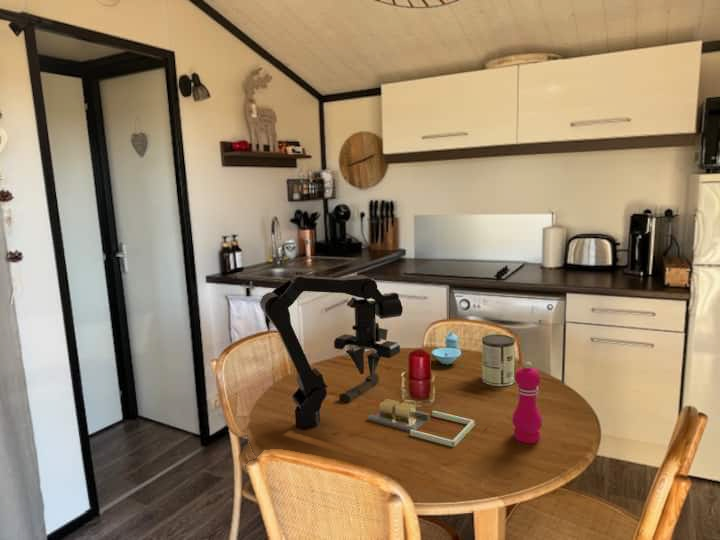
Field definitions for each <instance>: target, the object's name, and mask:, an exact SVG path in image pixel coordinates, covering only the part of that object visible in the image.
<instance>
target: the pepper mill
mask: <svg viewBox="0 0 720 540" xmlns="http://www.w3.org/2000/svg"><path fill="white" fill-rule="evenodd" d="M523 365H524V366H523V367H520V368H519V369H518V370H517V371H516V372H515V374H514V381H515V382H516V384H517V387H516V391H517V393H518V396H519V397H518V398H519V399H518V404H517V405H516V407H515V410H514V412H513V415H512V417H511V418H512V420H511V422H512V425H513V426H514V430H513V436H514V439H515V440H517V441H519V442H520V443H525V444H534V443H538V442H539V441H540V439H541V431H540V429H541V428H542V426H543V418H542V417H543V416H542V414H541V412H540V410H539V408H538V405H537V395H538V394H539V387H538V386H539V385H540V384H541V381H542V379H541V375H540V372H539V371H538V370H537V369H536V368H534V367H532V366H533V364H532V363H531V362H530V361H526V362H524V364H523Z"/></svg>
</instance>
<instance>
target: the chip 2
mask: <svg viewBox="0 0 720 540" xmlns="http://www.w3.org/2000/svg"><path fill="white" fill-rule="evenodd" d="M416 410H417V409H416V405H415V404H411V403H407V402H401V403H399V405H398V406H397V407H396V408H395V416H396V421H399V422H403V423H407V424H411V423H412V422H413V421H414V420H415V419H416Z"/></svg>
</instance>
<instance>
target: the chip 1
mask: <svg viewBox="0 0 720 540" xmlns="http://www.w3.org/2000/svg"><path fill="white" fill-rule="evenodd" d="M398 405H400V401H399V400H393V399H390V398H386V399H385V400H383V401H382V402H380V403H379V412H380V417H384V418H388V419H392V420H394V419H396V416H395V408H396V407H397V406H398Z"/></svg>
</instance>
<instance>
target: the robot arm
mask: <svg viewBox="0 0 720 540" xmlns="http://www.w3.org/2000/svg"><path fill="white" fill-rule="evenodd" d="M304 292H313V293H333V294H346V295H350V296H352V297H351V298H350V300H349V301H348V302H347V303H346V306H348V307H349V308H351V309H354V325H352V330H354V332H355V333H354V335H352V334H346V333H344V334H342V335H340V336H337V337H336V338H335V339H334V341H333V347H334V349H338V350H344V349H345V347H346V346H347V350H345V352H346V354H348V355H349V357H350V358H351V360H352V361H353V363H354V364H355V366H356V368H357V370H358V373H359V374H360V375H363V374H364V373H365V360H364V358H365V357H364V353H365V350H371V353H369V354H368V355H367V363H368V369H369V374H370V375H371V376H374V374H376V371H377V368H378V364H379V362H380V359H381V358H386V359H391V358H392V357H394V356H396V355H398V354H399V353H400V352H401V346H400V344H399V342H395V341H388V340H387V339H388V330H389V329H386V328H382V327H380V325H379V322H376V318H377V317H378V318H380V320H384V319H390V318H397V317H401V316H402V315H403V309H404V308H403V305H402V302H401V299H400V297H399V293H397V292H390V293H387V294H386V293H385V294H382V293H381V291H380V290H379V289H378V283H377V282H376V280H375V279H373V278H371V277H369V276H366V275H363V274H357V275H349V276H346V277H331V276H330V277H326V276H313V275H312V276H309V275H301V274H294V275H292V276H291V277H289V279H287V281H285V282H284V283H281V284H280V285H278V286H277V287H276V288H274V289H273V290H272V291H270V292H267V293H265V294H263V296H261V299H260V301H259V305H260V309H261V310H262V312H263V313H264V314H265V316H266V317H267V318H268V320H269V321H270V322H271V324H272V325H273V326H274V328H275V330H276V331H277V334H278V336H279V338H280V340H281V342H282V344H283V347H284V349H285V351H286V353H287V354H288V357H289V359H290V362H291V363H292V365H293V368H294V370H295V373H296V379H297V384H298V388H297V390H295V392H294V393H293V394H292V395H291V397H292V398H291V399H292V401H293V403H294V404H296V407H295V409H294V415H295V418H294V419H295V429H299V430H302V431H307V430H311V429H314V428H316V427H318V426H319V422H320V421H321V416H320V415H321V414H320V412H321V411H320V410H321V408H322V407H321V406H322V404H323V402H324V400H325V399H326V397H327V395H328V392H327V389H328V387H329V386H328V385H327V384H326V383H325V380H324V377H323V375H322V373H321V372H320V371H319V370H318V369H317V368H316V367H314V368H313V369H312V367H311V365H310V363H309V361H308V359H307V356H306V354H305V352H304V350H303V348H302V347H303V346H302V345H301V343H300V340H299V339H298V337H297V335H296V332H295V331H294V328H293V326H292V320H291V319H292V318H291V313H290V310H289V308H290V307H291V306H292V305H293V304H294V303H296V301H297V299H298V298H299V297H300V296H301V294H302V293H304ZM355 297H356V298H355ZM357 298H360V299H357ZM370 299H372V300H370ZM382 340H383V341H385V342H382V343H380V342H381V341H382ZM377 342H379V343H377ZM370 375H369V376H370Z"/></svg>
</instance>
